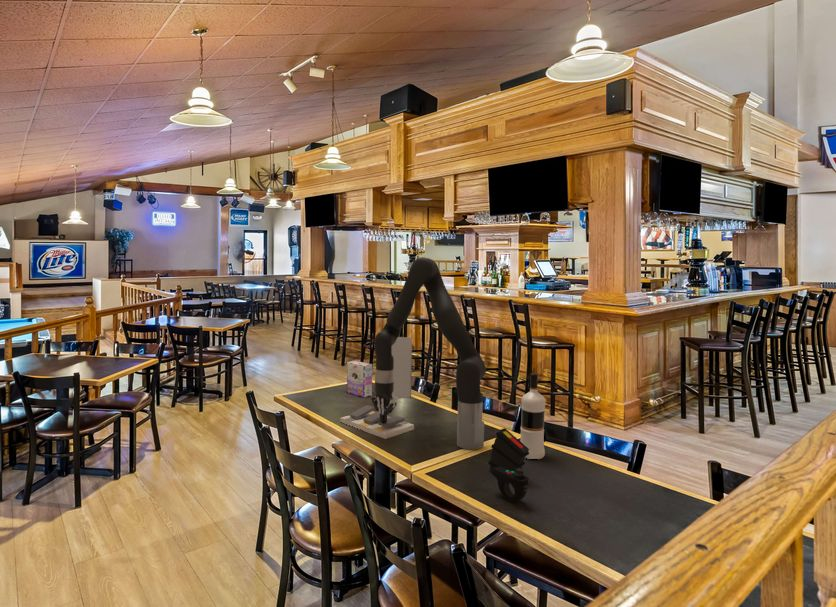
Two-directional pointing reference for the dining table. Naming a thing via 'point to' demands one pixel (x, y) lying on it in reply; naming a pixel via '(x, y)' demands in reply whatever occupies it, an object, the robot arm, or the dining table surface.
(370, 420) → the rocker mid
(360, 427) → the switch panel
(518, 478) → the controller
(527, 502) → the dining table surface
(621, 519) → the dining table surface
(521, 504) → the dining table surface
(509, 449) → the dark striped block
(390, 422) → the rocker near
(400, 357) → the tall grey panel
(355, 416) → the rocker far
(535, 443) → the vodka
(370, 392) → the candy box
